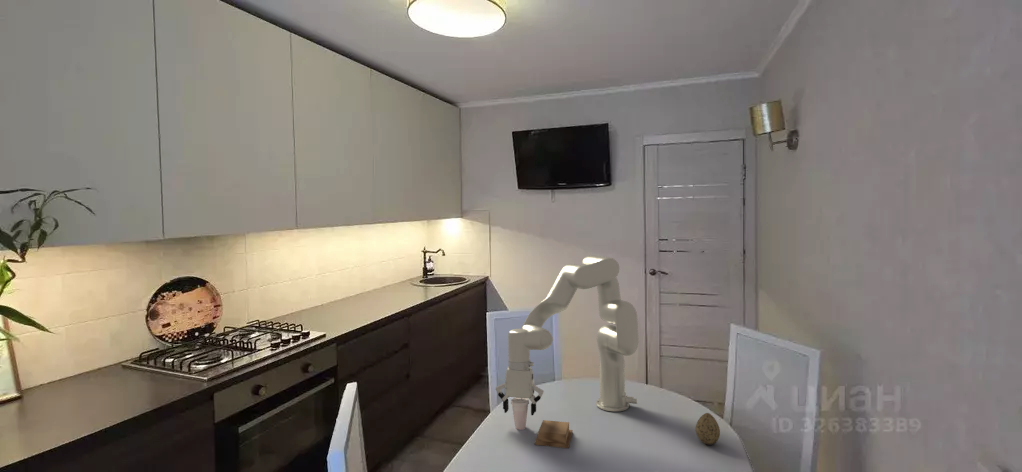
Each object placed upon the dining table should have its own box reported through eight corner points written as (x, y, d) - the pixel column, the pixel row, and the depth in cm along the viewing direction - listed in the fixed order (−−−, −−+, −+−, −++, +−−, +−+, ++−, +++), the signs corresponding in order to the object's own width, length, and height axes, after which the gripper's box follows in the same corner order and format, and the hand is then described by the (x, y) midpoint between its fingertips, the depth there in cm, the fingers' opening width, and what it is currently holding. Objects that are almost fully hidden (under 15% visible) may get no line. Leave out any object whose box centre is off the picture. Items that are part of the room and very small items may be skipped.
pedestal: (572, 432, 159) (572, 421, 158) (568, 448, 148) (568, 436, 148) (541, 429, 161) (540, 418, 161) (534, 444, 151) (534, 432, 150)
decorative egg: (716, 439, 152) (716, 409, 152) (722, 449, 145) (722, 418, 145) (693, 437, 153) (693, 408, 153) (698, 448, 146) (698, 417, 146)
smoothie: (527, 432, 160) (527, 392, 159) (509, 430, 161) (509, 391, 161) (530, 424, 166) (530, 385, 166) (513, 422, 167) (512, 384, 167)
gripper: (545, 363, 164) (545, 410, 165) (498, 360, 169) (499, 406, 169) (541, 369, 157) (541, 419, 158) (492, 366, 161) (493, 414, 162)
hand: (519, 412), depth 163 cm, fingers open, 9 cm apart
